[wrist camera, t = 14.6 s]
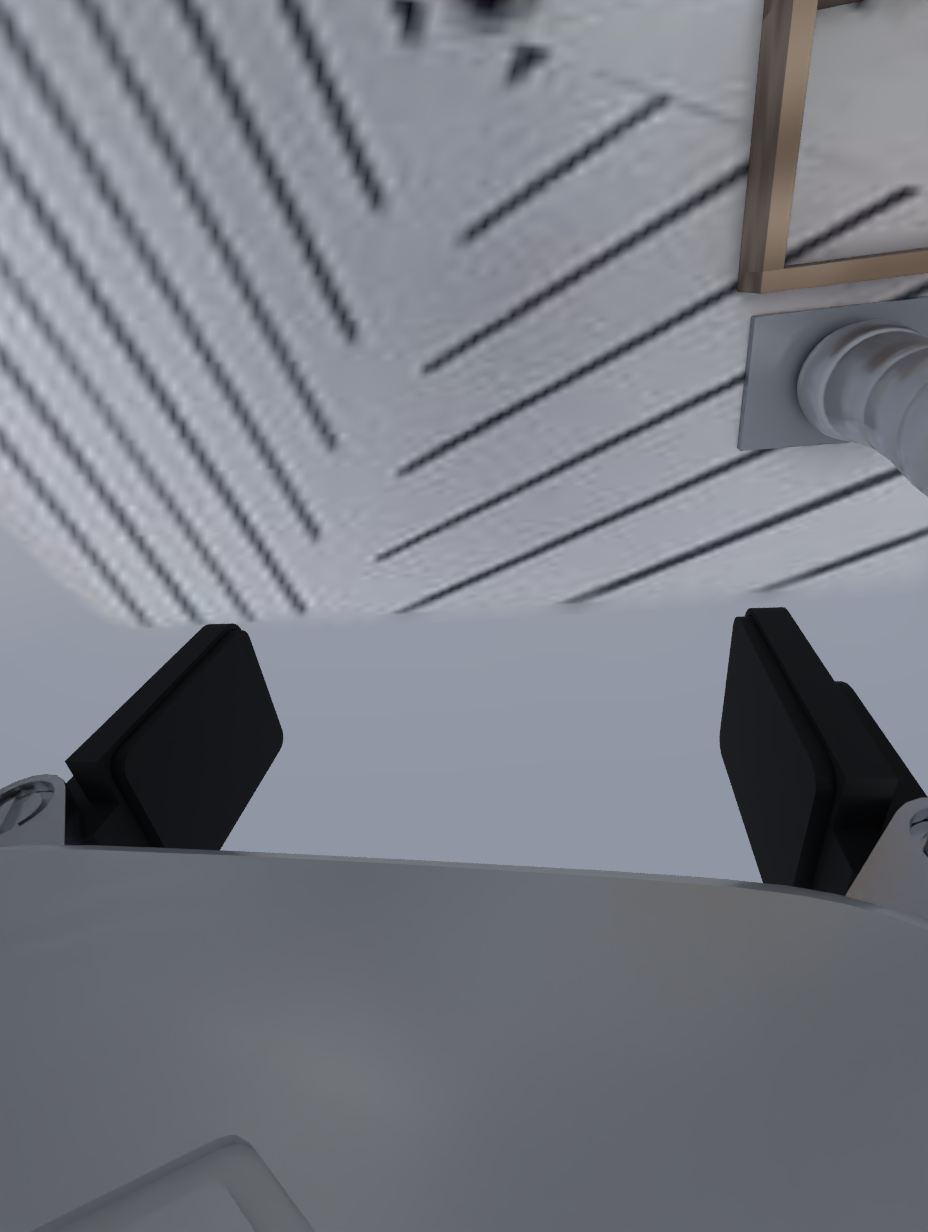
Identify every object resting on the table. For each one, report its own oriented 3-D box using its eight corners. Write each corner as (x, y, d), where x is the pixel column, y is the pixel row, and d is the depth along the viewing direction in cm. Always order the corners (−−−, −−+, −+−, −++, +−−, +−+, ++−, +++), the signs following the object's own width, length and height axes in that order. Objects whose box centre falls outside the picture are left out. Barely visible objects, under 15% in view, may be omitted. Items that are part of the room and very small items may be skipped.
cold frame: (765, -7, 29) (799, -56, 25) (1074, -73, 26) (1171, -140, 22) (736, 291, 35) (760, 293, 31) (984, 260, 33) (1046, 257, 29)
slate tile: (751, 316, 36) (755, 317, 35) (956, 292, 34) (964, 293, 33) (737, 447, 40) (740, 450, 39) (919, 433, 38) (926, 436, 37)
